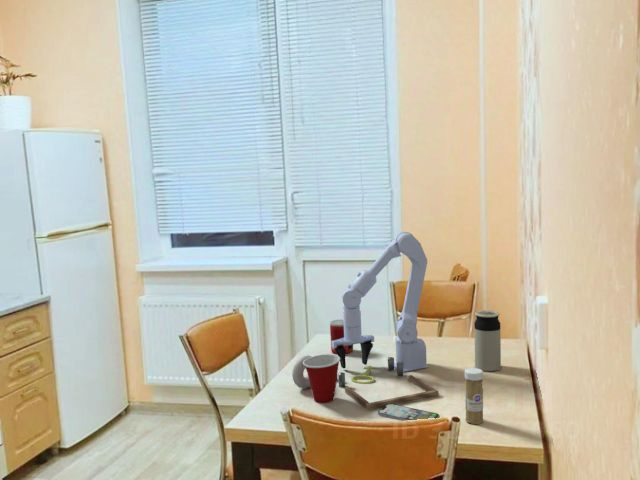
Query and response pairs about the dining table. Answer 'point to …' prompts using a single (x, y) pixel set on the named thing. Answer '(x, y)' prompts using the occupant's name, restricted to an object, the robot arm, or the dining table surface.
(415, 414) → the smartphone
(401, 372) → the spacers
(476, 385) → the sprinkles bottle
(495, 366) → the travel mug
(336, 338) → the canned food
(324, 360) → the plastic cup
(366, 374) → the key
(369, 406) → the bay
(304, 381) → the donut
